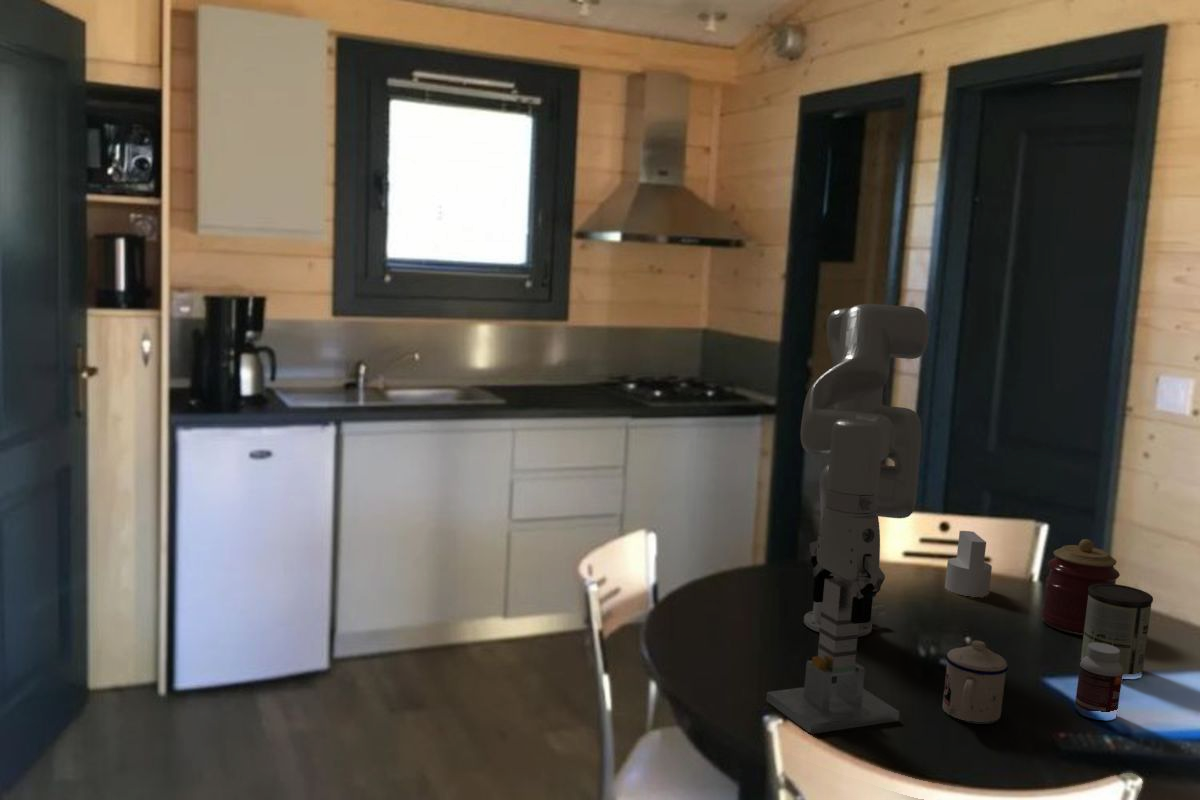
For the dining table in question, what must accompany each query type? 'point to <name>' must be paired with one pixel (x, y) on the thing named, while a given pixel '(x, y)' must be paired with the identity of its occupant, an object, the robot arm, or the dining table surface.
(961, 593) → the cylinder with rectangular tab
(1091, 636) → the coffee can
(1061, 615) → the canister
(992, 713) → the teacup with lid
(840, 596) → the column
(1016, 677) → the dining table surface
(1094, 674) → the pill bottle
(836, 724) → the stand
